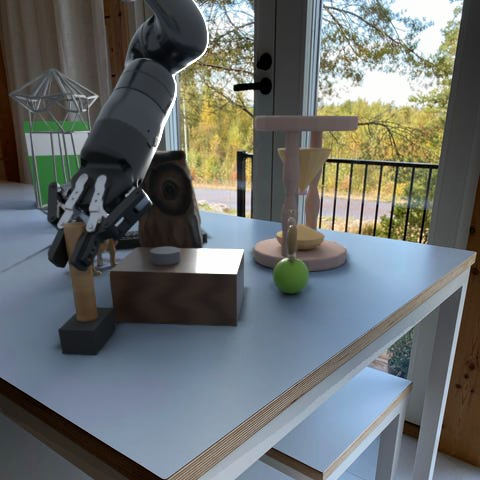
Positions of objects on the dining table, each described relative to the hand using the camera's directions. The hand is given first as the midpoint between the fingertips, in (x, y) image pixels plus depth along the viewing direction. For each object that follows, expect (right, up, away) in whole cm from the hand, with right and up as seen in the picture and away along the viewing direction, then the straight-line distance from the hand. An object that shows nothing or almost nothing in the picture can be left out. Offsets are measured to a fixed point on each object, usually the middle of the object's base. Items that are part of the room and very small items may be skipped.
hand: (66, 265), depth 51 cm
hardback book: (-34, +29, +95) cm, 105 cm away
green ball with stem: (+26, -2, +22) cm, 35 cm away
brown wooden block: (+11, -4, +16) cm, 20 cm away
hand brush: (+1, -8, +6) cm, 10 cm away
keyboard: (-4, +11, +52) cm, 53 cm away
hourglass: (+30, +6, +40) cm, 50 cm away
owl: (+8, +4, +37) cm, 38 cm away
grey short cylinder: (+9, +2, +12) cm, 15 cm away
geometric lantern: (-24, +18, +69) cm, 76 cm away
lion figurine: (-7, +3, +33) cm, 34 cm away
